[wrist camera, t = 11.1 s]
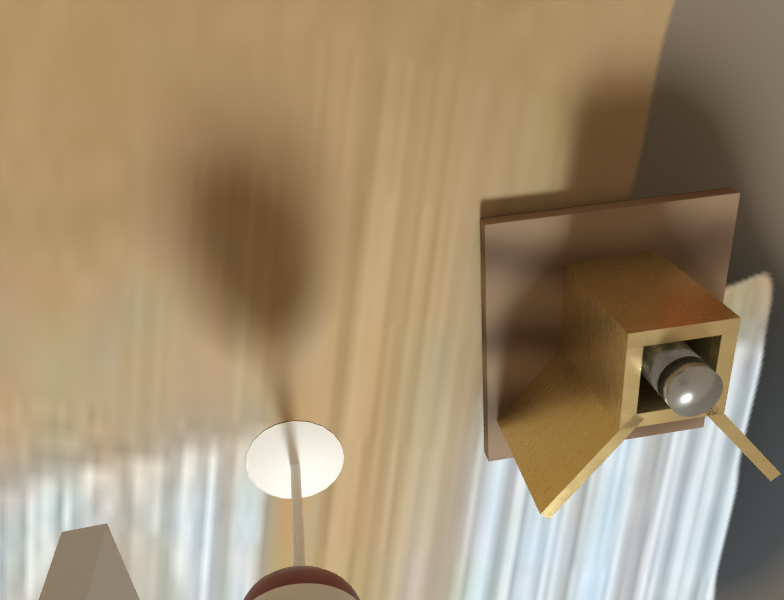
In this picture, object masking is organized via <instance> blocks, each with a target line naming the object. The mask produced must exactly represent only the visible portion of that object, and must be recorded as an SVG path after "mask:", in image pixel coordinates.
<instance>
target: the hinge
mask: <svg viewBox="0 0 784 600" xmlns="http://www.w3.org/2000/svg"><path fill="white" fill-rule="evenodd" d="M740 318H741V317H739V316H738V315H737V314H736V313H734V312H733V311H732V310H731V309H729V308H728V307H727V306H726V305H724V304H723V303H722V302H721V301H719V300H718V299H717V298H715V297H714V296H713V295H712V294H710V293H709V292H708V291H707V290H705V289H704V288H703V287H702V286H700V285H699V284H698V283H697V282H695V281H694V280H693V279H692V278H690V277H689V276H688V275H687V274H685V273H684V272H683V271H682V270H680V269H679V268H678V267H677V266H675V265H674V264H673V263H672V262H670V261H669V260H668V259H667V258H665V257H664V256H663V255H662V254H660V253H659V252H658V251H656V252H648V253H641V254H633V255H626V256H618V257H611V258H603V259H596V260H588V261H580V262H573V263H565V264H564V285H563V309H562V334H561V348H560V350H559V351H558V352H557V353H556V354H555V355H554V356H553V358H552V359H551V360H550V361H549V362H548V363H547V365H546V366H545V367H544V368H543V369H542V370H541V371H540V373H539V374H538V375H537V376H536V377H535V378H534V380H533V381H532V382H531V383H530V384H529V385H528V386H527V388H526V389H525V390H524V391H523V392H522V393H521V395H520V396H519V397H518V398H517V399H516V400H515V401H514V403H513V404H512V405H511V406H510V407H509V408H508V410H507V411H506V412H505V413H504V414H503V415H502V416H501V418H500V419H499V420H498V421H497V422H498V425H499V427H500V429H501V431H502V433H503V435H504V437H505V440H506V442H507V444H508V446H509V448H510V450H511V452H512V454H513V457H514V459H515V461H516V463H517V465H518V467H519V469H520V472H521V474H522V476H523V478H524V480H525V482H526V484H527V487H528V489H529V491H530V493H531V495H532V497H533V499H534V502H535V504H536V506H537V508H538V510H539V512H540V514H541V515H543V516H545V517H547V518H549V519H550V517H551V516H552V515H553V514H554V513H555V512H556V511H557V510H558V509H559V508H560V507H561V506H562V505H563V504H564V503H565V502H566V501H567V500H568V499H569V497H570V496H571V495H572V494H573V493H574V492H575V491H576V490H577V489H578V488H579V487H580V486H581V485H582V484H583V483H584V482H585V481H586V480H587V478H588V477H589V476H590V475H591V474H592V473H593V472H594V471H595V470H596V469H597V468H598V467H599V466H600V465H601V464H602V463H603V462H604V461H605V460H606V458H607V457H608V456H609V455H610V454H611V453H612V452H613V451H614V450H615V449H616V448H617V447H618V446H619V445H620V444H621V443H622V442H623V441H624V439H625V438H626V437H627V436H628V435H629V434H630V433H631V432H632V431H633V430H634V429H635V428H636V427H641V426H647V425H654V424H660V423H666V422H673V421H679V420H685V419H692V418H698V417H704V416H708V417H709V418H710V419H711V420H712V421H713V422H714V423H715V424H716V425H717V426H718V427H719V428H720V429H721V430H722V431H723V432H724V433H725V434H726V435H727V436H728V437H729V438H730V439H731V440H732V441H733V442H734V444H735V445H736V446H737V447H738V448H739V449H740V450H741V451H742V452H743V453H744V454H745V455H746V456H747V457H748V458H749V459H750V460H751V461H752V462H753V463H754V464H755V465H756V466H757V467H758V468H759V469H760V470H761V472H763V474H764V475H765V476H766V477H767V478H768V479H769V480H770V481H772V480H773V479H774V478H776V477H777V476H778V475H780V473H779V471H778V470H777V469H776V468H775V467H774V466H773V465H772V464H771V463H770V462H769V461H768V460H767V459H766V458H765V457H764V456H763V454H761V452H760V451H759V450H758V449H757V448H756V447H755V446H754V445H753V444H752V443H751V442H750V441H749V440H748V439H747V438H746V436H745V435H744V434H743V433H742V432H741V431H740V430H739V429H738V428H737V427H736V426H735V425H734V424H733V423H732V422H731V421H730V419H729V418H728V417H727V416H726V415H725V414H724V411H725V405H726V399H727V394H728V388H729V382H730V376H731V370H732V365H733V359H734V353H735V347H736V341H737V336H738V330H739V324H740ZM677 341H684V342H685V343H686V344H687V345H688V346H689V347H690V348H691V349H692V350H693V351H694V352H695V353H696V354H697V355H698V356H699V357H700V358H701V359H702V360H704V361H705V362H706V363H707V364H708V365H709V366H710V367H711V368H712V369H713V370H714V371H715V372H716V373H717V374H718V375H719V376H720V377H721V379H722V382H723V391H722V395H721V397H720V399H719V400H718V402H717V403H716V404H715V405H714V406H713V407H712V408H711V409H710V410H708V411H707V412H705V413H703V414H701V415H698V416H694V417H683V416H680V415H678V414H676V413H675V412H674V411H673V410H672V409H671V408H670V407H669V405H668V404H667V403H666V402H665V401H664V400H663V398H662V397H661V396H660V395H659V394H658V393H657V391H656V390H655V389H654V388H653V387H652V386H651V384H650V383H649V382H648V381H647V380H646V379H645V377H644V376H643V375H642V374H641V365H642V355H643V346H650V345H657V344H663V343H670V342H677Z"/></svg>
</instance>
